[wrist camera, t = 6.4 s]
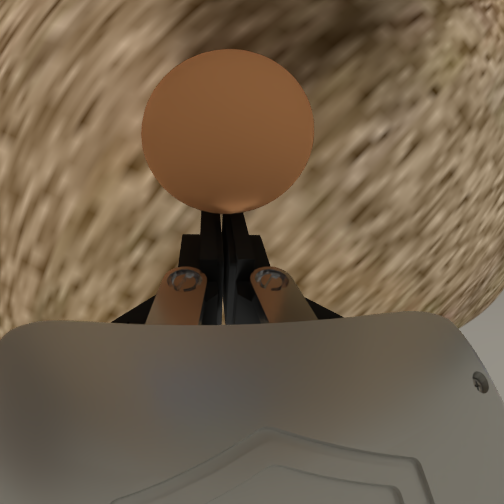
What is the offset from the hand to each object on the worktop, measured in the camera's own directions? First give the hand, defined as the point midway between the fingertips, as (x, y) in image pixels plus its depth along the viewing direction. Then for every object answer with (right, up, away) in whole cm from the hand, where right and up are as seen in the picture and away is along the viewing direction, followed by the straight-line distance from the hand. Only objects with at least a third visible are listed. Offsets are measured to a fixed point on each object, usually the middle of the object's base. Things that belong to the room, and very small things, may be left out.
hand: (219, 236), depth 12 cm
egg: (+1, +3, -3) cm, 5 cm away
